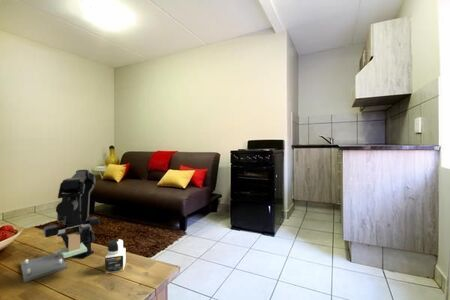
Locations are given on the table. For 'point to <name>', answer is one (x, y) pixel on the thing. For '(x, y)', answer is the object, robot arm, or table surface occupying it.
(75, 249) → the tan and green block
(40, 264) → the standoff plate
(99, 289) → the table surface
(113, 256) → the medicine bottle
